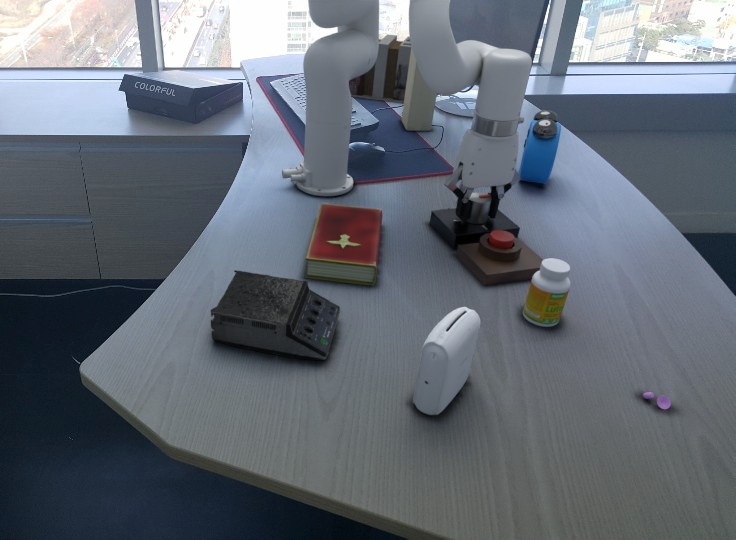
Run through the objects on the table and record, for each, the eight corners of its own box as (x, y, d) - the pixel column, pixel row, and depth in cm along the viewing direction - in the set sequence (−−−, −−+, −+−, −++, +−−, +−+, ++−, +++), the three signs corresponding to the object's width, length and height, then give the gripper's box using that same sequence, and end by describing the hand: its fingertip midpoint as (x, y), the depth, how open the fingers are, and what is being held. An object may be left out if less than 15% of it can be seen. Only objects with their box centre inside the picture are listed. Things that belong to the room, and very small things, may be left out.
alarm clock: (545, 194, 137) (563, 127, 128) (515, 189, 139) (531, 123, 130) (546, 171, 147) (563, 107, 139) (518, 167, 149) (533, 104, 141)
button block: (484, 285, 107) (488, 265, 105) (455, 255, 115) (459, 236, 113) (547, 277, 109) (553, 257, 107) (515, 248, 118) (520, 229, 115)
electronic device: (326, 365, 90) (329, 331, 87) (210, 343, 94) (209, 310, 91) (340, 316, 100) (343, 284, 96) (234, 298, 104) (234, 266, 100)
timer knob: (470, 225, 119) (474, 202, 116) (458, 214, 122) (463, 192, 120) (491, 223, 119) (496, 199, 117) (479, 212, 123) (484, 189, 120)
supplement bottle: (541, 331, 97) (558, 278, 91) (514, 313, 101) (528, 260, 95) (566, 321, 99) (584, 269, 94) (539, 303, 103) (554, 252, 98)
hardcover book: (381, 226, 124) (383, 207, 122) (375, 285, 107) (378, 264, 105) (320, 220, 126) (321, 201, 124) (304, 277, 109) (305, 256, 107)
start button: (496, 251, 110) (498, 242, 109) (484, 239, 113) (485, 231, 112) (516, 248, 110) (519, 239, 109) (504, 237, 114) (506, 228, 113)
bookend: (349, 80, 207) (353, 28, 198) (427, 89, 199) (434, 35, 190) (335, 94, 195) (339, 39, 186) (417, 104, 187) (425, 48, 178)
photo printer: (437, 421, 81) (453, 346, 74) (407, 406, 83) (420, 331, 77) (471, 379, 88) (489, 307, 81) (442, 366, 90) (458, 294, 83)
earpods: (659, 412, 85) (664, 400, 85) (667, 412, 83) (672, 400, 83) (638, 399, 85) (644, 388, 85) (646, 399, 83) (651, 387, 84)
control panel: (453, 249, 117) (456, 234, 115) (429, 224, 125) (431, 209, 124) (516, 241, 120) (520, 227, 118) (488, 217, 128) (492, 203, 126)
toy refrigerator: (434, 131, 169) (447, 49, 157) (406, 131, 169) (417, 49, 157) (427, 120, 175) (439, 42, 164) (401, 120, 175) (411, 41, 164)
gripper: (526, 113, 115) (505, 203, 125) (439, 121, 112) (424, 212, 122) (551, 128, 109) (526, 221, 119) (460, 136, 106) (442, 231, 116)
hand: (475, 216), depth 120 cm, fingers open, 5 cm apart
